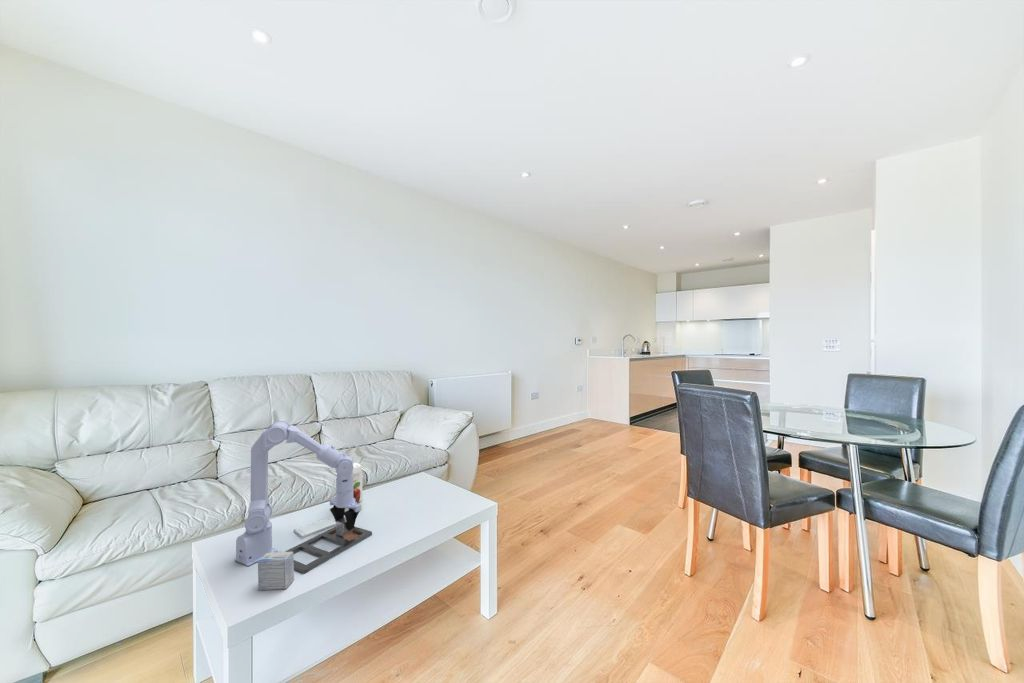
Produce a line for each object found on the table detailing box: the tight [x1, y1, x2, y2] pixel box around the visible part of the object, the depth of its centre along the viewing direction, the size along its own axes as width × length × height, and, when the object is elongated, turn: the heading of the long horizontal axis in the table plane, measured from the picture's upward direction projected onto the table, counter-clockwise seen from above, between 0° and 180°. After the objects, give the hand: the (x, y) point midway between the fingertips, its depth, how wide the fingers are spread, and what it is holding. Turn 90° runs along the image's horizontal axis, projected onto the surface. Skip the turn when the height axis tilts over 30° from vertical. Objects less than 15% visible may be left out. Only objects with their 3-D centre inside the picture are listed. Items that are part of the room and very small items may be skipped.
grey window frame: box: [284, 525, 373, 575], centre depth 128 cm, size 26×16×1 cm, turn 152°
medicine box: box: [257, 551, 295, 591], centre depth 108 cm, size 8×4×9 cm, turn 92°
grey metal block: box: [335, 516, 353, 539], centre depth 135 cm, size 4×4×6 cm
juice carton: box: [345, 462, 364, 512], centre depth 158 cm, size 8×9×19 cm
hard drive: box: [293, 517, 336, 539], centre depth 142 cm, size 2×8×12 cm
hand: (345, 527), depth 135 cm, fingers open, 5 cm apart
